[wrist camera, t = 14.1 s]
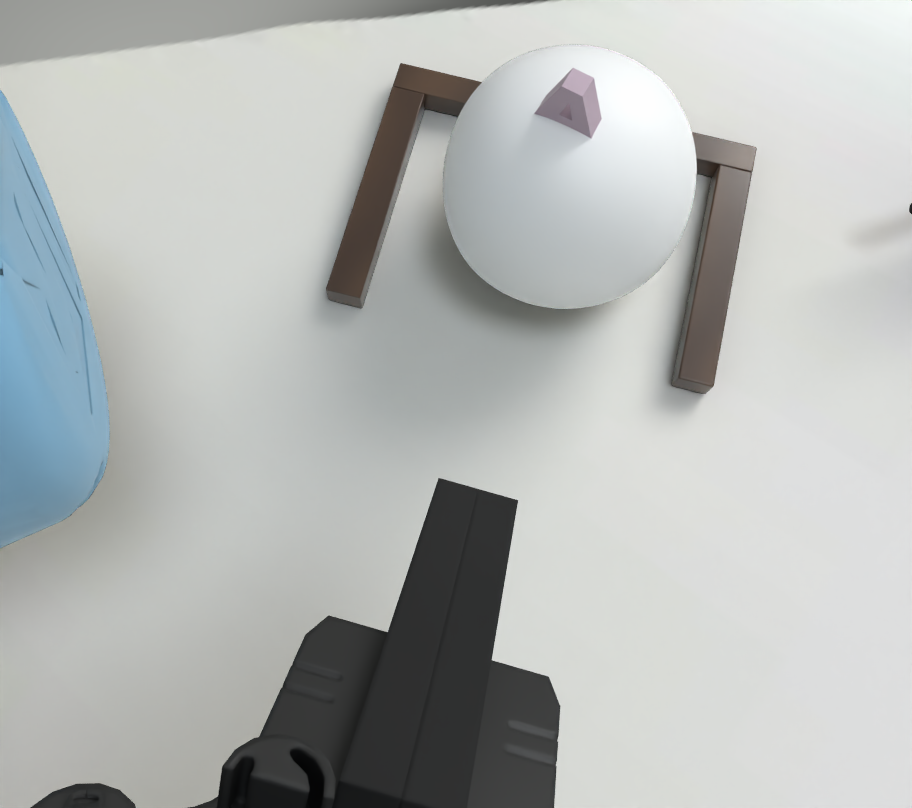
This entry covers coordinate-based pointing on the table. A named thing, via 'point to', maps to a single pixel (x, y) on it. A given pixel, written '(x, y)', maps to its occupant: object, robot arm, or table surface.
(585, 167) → the ornament
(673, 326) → the table surface
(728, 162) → the bay
